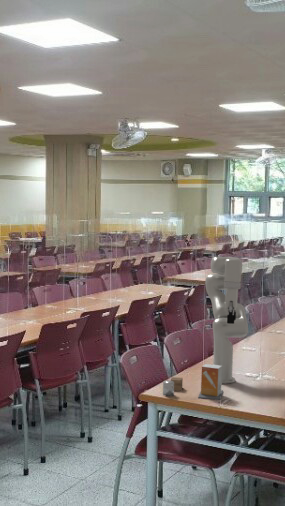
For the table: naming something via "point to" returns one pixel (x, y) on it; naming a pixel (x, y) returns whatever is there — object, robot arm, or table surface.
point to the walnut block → (177, 383)
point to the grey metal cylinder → (168, 388)
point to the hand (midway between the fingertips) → (231, 321)
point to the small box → (211, 379)
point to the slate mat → (210, 396)
